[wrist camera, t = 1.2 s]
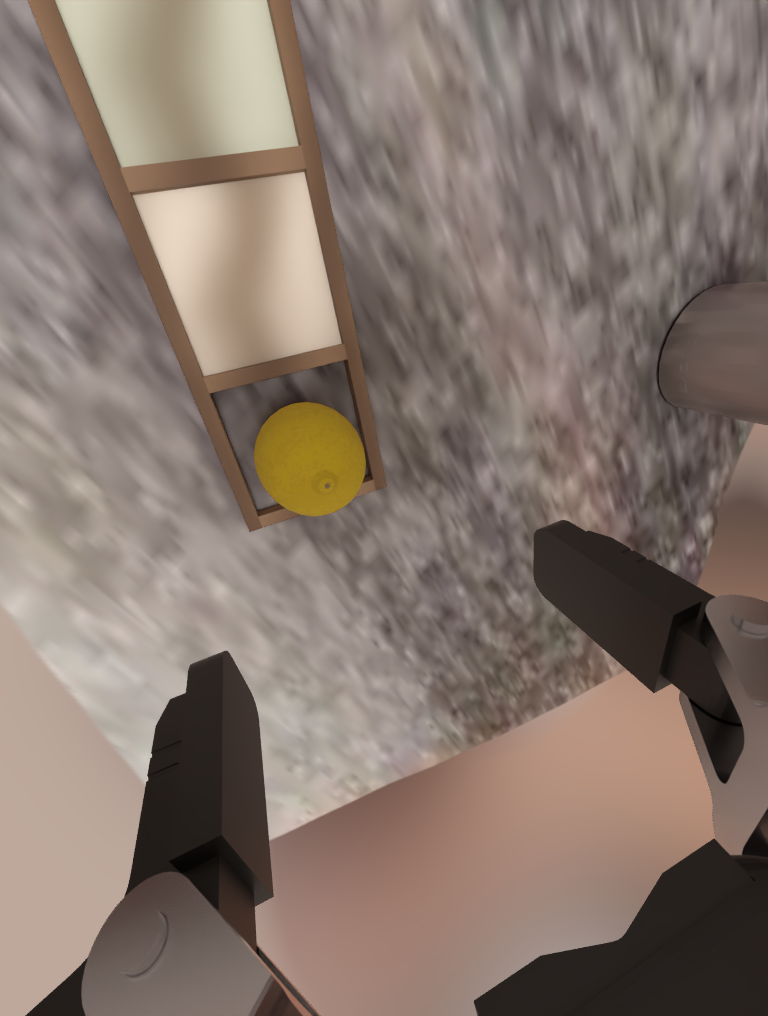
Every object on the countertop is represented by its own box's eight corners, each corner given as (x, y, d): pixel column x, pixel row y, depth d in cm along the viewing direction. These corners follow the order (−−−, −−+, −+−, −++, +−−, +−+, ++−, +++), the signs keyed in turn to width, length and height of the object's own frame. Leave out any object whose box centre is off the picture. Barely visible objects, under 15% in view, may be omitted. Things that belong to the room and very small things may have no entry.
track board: (254, -149, 14) (255, -172, 14) (382, 482, 27) (386, 486, 26) (-36, -161, 12) (-52, -189, 12) (249, 526, 25) (249, 531, 24)
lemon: (302, 497, 25) (329, 562, 19) (229, 441, 23) (230, 495, 16) (360, 434, 25) (410, 477, 18) (294, 369, 22) (323, 392, 15)
